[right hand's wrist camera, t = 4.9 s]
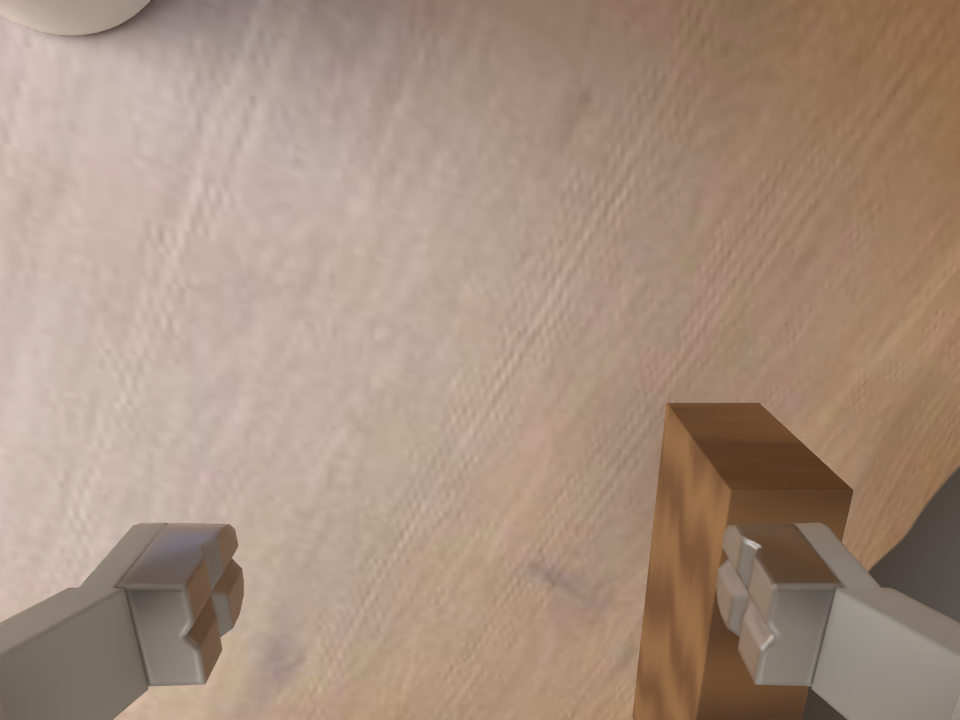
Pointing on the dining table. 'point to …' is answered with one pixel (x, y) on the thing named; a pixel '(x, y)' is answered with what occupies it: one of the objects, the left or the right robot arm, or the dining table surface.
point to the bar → (719, 555)
